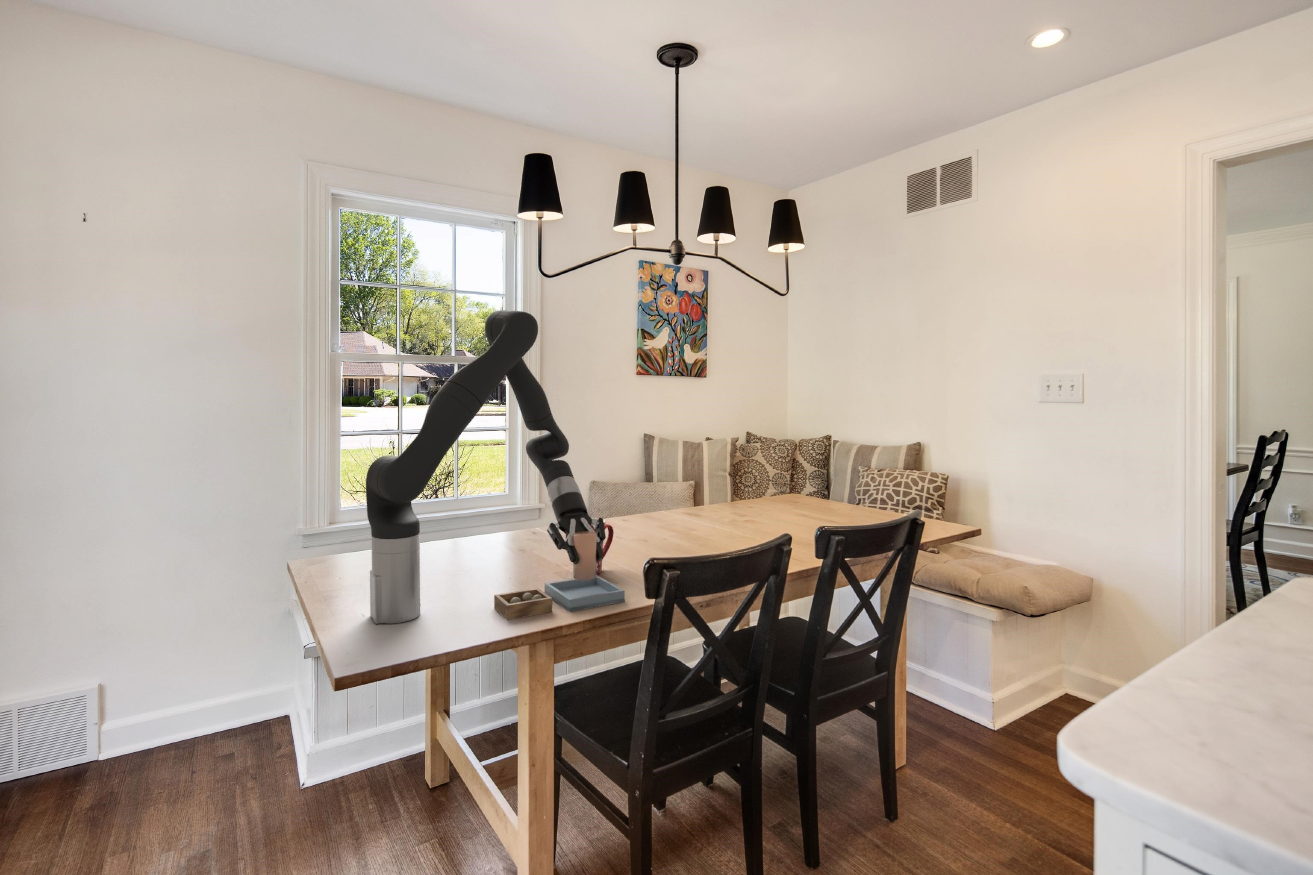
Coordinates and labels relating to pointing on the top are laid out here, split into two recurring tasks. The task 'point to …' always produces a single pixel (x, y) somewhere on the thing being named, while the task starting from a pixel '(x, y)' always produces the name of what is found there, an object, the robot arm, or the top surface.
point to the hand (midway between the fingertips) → (588, 560)
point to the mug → (607, 545)
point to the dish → (584, 593)
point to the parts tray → (522, 603)
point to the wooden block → (585, 555)
